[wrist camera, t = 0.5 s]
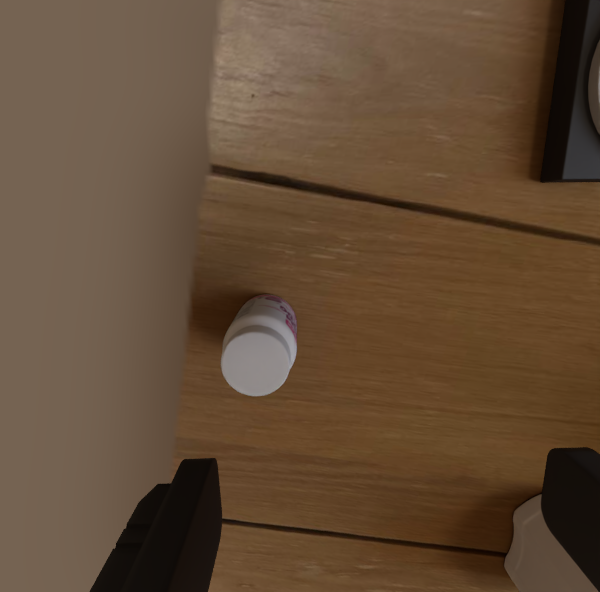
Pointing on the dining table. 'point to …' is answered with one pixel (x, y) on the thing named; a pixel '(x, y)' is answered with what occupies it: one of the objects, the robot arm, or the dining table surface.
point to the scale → (575, 99)
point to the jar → (541, 556)
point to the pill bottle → (260, 346)
